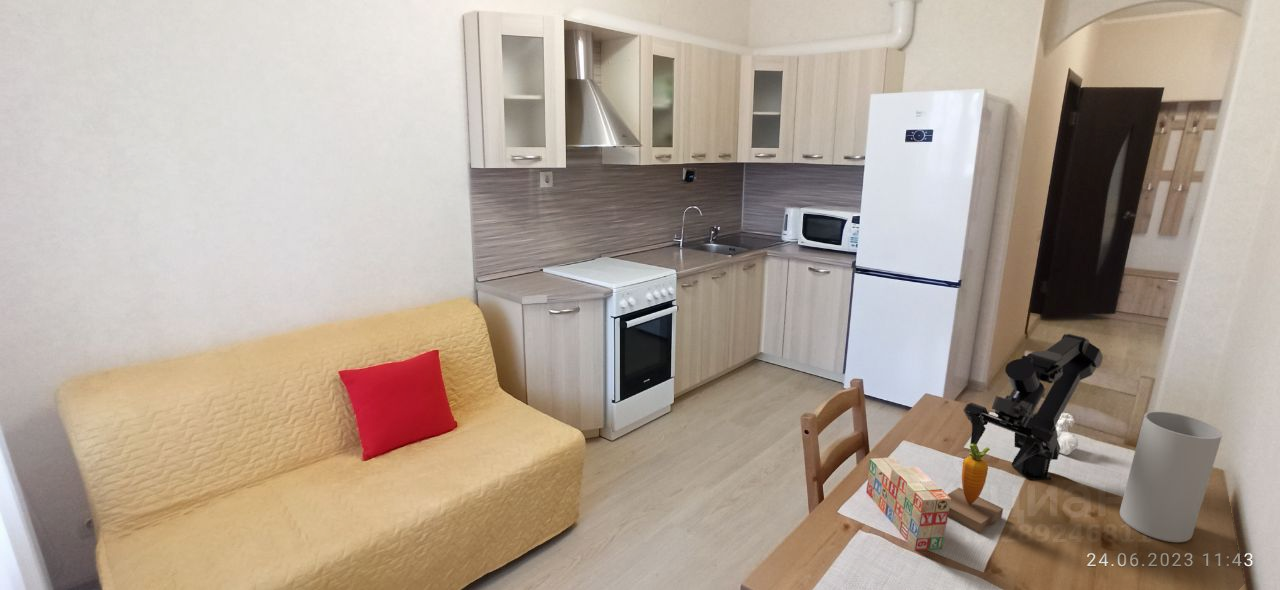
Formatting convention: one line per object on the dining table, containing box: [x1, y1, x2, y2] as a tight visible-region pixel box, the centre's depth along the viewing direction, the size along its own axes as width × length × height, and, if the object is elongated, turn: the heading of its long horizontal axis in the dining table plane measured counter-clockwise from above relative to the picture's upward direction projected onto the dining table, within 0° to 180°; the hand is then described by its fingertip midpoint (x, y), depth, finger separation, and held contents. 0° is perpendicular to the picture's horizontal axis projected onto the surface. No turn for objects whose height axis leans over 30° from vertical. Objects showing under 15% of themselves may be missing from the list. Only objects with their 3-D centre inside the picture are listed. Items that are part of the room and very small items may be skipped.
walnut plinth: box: [946, 487, 1004, 535], centre depth 136 cm, size 10×10×2 cm
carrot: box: [961, 444, 991, 504], centre depth 134 cm, size 5×5×15 cm
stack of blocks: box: [866, 456, 951, 551], centre depth 133 cm, size 21×6×12 cm, turn 7°
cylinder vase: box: [1119, 410, 1223, 543], centre depth 131 cm, size 12×12×25 cm
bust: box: [1056, 412, 1079, 456], centre depth 167 cm, size 12×8×11 cm
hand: (991, 456), depth 137 cm, fingers open, 9 cm apart
